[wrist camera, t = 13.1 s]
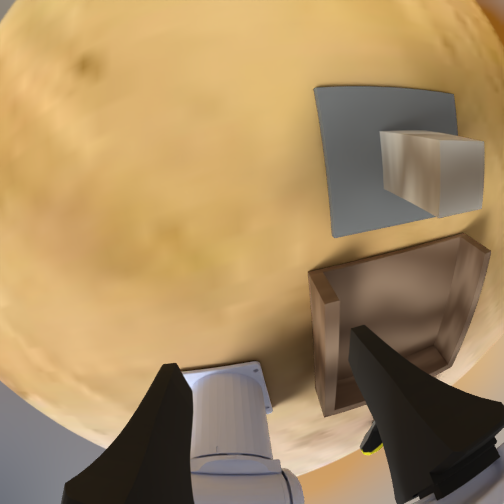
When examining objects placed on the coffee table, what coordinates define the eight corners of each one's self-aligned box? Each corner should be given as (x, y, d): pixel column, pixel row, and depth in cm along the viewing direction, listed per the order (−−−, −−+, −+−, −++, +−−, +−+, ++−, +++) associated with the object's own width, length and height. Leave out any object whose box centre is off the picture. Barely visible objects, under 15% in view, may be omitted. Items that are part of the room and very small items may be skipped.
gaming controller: (350, 433, 34) (402, 416, 35) (359, 460, 29) (413, 440, 30) (376, 381, 28) (436, 360, 28) (392, 415, 23) (455, 388, 23)
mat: (452, 210, 19) (456, 212, 18) (331, 235, 19) (334, 238, 18) (449, 94, 14) (453, 94, 14) (313, 88, 14) (316, 87, 14)
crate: (435, 345, 26) (451, 366, 23) (315, 388, 26) (324, 417, 23) (463, 232, 20) (491, 251, 16) (308, 271, 20) (324, 304, 16)
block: (425, 183, 17) (481, 208, 11) (383, 188, 17) (438, 218, 12) (423, 130, 15) (484, 141, 10) (379, 131, 15) (439, 140, 10)
